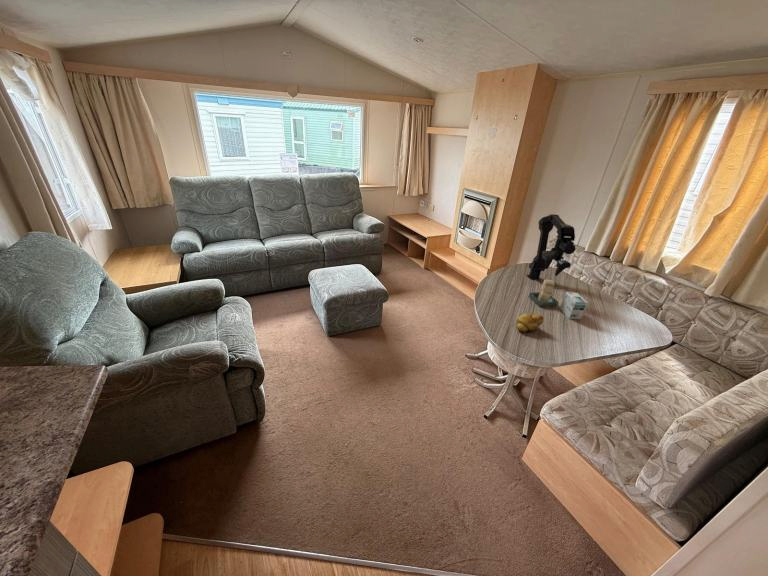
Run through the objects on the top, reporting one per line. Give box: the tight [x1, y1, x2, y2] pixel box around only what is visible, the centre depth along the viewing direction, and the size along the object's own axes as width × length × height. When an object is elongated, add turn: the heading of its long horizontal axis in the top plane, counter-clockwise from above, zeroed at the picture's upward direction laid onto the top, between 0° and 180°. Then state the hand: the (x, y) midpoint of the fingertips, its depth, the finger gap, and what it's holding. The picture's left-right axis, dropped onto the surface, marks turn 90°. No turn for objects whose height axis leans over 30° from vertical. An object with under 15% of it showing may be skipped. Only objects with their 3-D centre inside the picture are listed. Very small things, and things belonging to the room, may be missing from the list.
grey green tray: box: [528, 291, 559, 308], centre depth 178 cm, size 11×11×3 cm
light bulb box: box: [559, 291, 589, 320], centre depth 166 cm, size 11×7×11 cm, turn 179°
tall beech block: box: [538, 279, 556, 302], centre depth 175 cm, size 4×4×12 cm
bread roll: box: [516, 313, 544, 333], centre depth 152 cm, size 13×10×8 cm
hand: (550, 272), depth 184 cm, fingers open, 9 cm apart
